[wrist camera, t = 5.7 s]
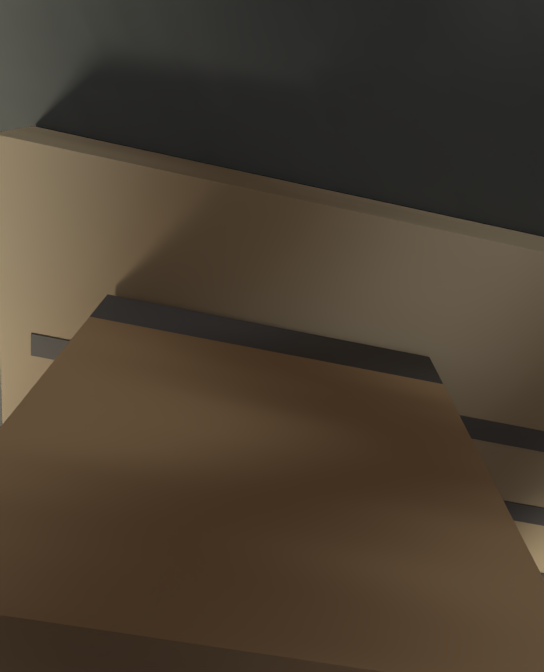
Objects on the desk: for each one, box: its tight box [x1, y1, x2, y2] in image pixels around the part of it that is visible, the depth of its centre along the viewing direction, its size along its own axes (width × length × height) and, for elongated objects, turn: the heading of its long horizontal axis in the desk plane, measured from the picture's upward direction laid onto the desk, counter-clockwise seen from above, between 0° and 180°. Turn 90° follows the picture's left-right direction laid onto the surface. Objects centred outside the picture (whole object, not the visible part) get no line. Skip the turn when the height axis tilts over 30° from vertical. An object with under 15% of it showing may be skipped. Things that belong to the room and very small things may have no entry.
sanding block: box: [0, 294, 544, 672], centre depth 7 cm, size 5×7×5 cm
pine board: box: [0, 126, 544, 579], centre depth 10 cm, size 18×11×1 cm, turn 78°
